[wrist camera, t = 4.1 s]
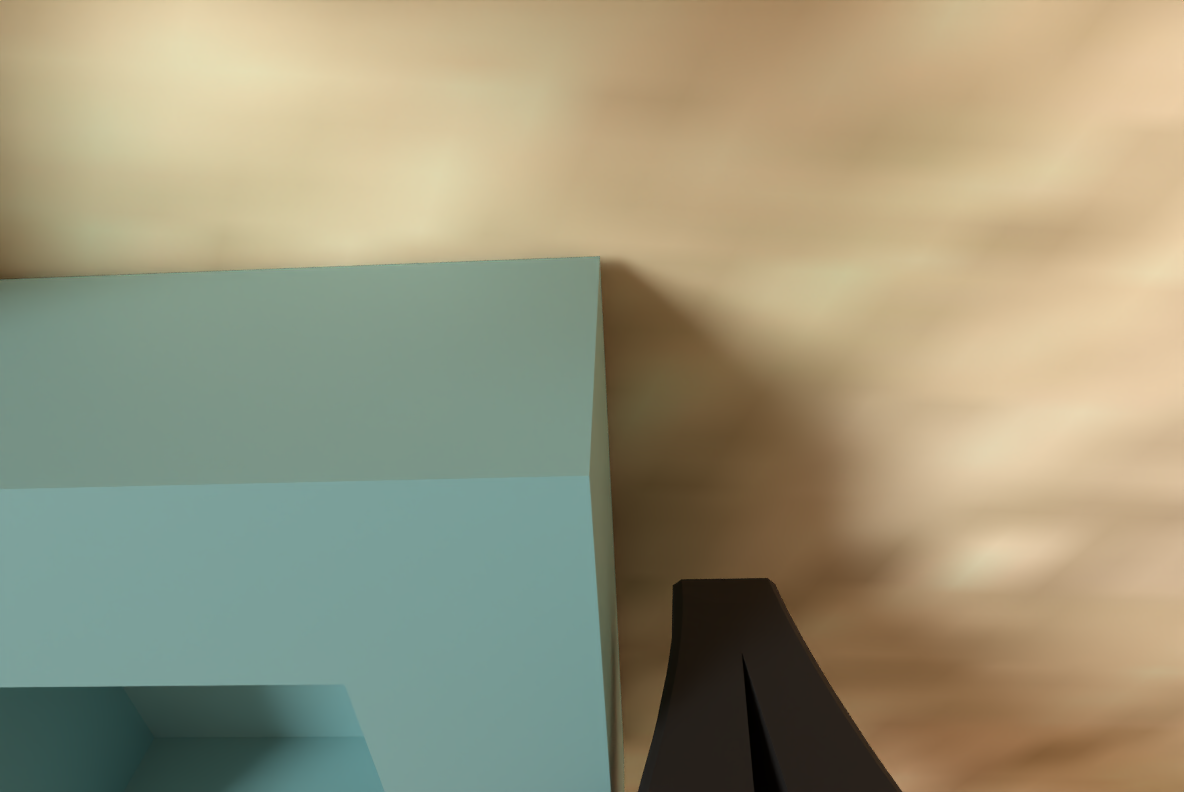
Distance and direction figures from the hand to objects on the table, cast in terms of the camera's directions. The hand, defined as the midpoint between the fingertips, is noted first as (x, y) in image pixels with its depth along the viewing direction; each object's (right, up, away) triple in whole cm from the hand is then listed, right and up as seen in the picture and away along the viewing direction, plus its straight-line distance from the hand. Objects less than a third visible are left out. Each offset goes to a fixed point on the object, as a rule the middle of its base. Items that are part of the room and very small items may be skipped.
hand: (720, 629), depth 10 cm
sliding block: (-6, 0, +1) cm, 7 cm away
